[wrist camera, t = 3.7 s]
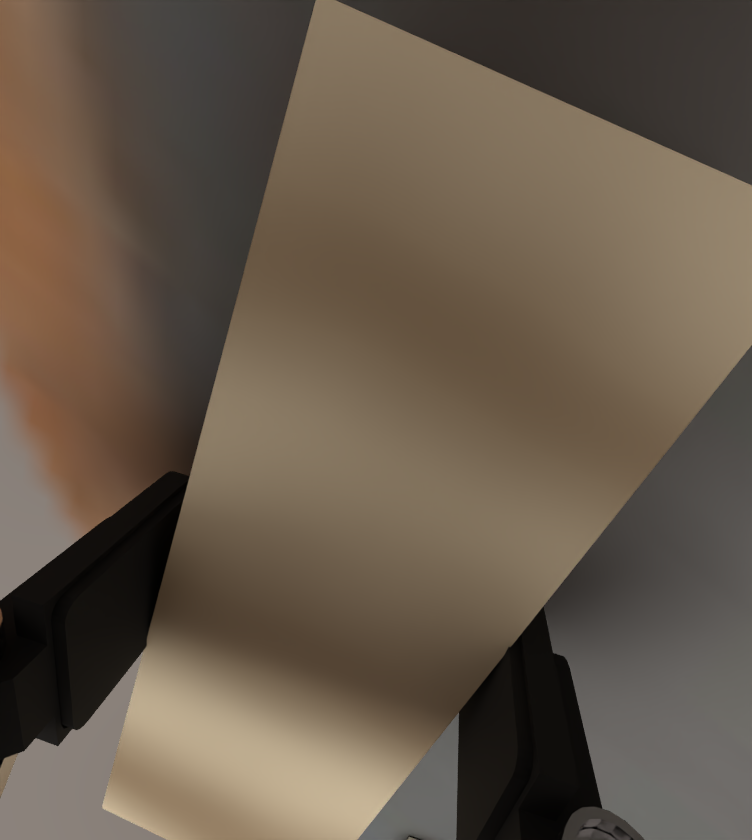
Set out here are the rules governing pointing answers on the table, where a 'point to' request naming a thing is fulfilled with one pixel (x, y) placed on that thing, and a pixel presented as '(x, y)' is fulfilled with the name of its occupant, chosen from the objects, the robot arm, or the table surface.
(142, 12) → the table surface
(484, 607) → the shelf board
